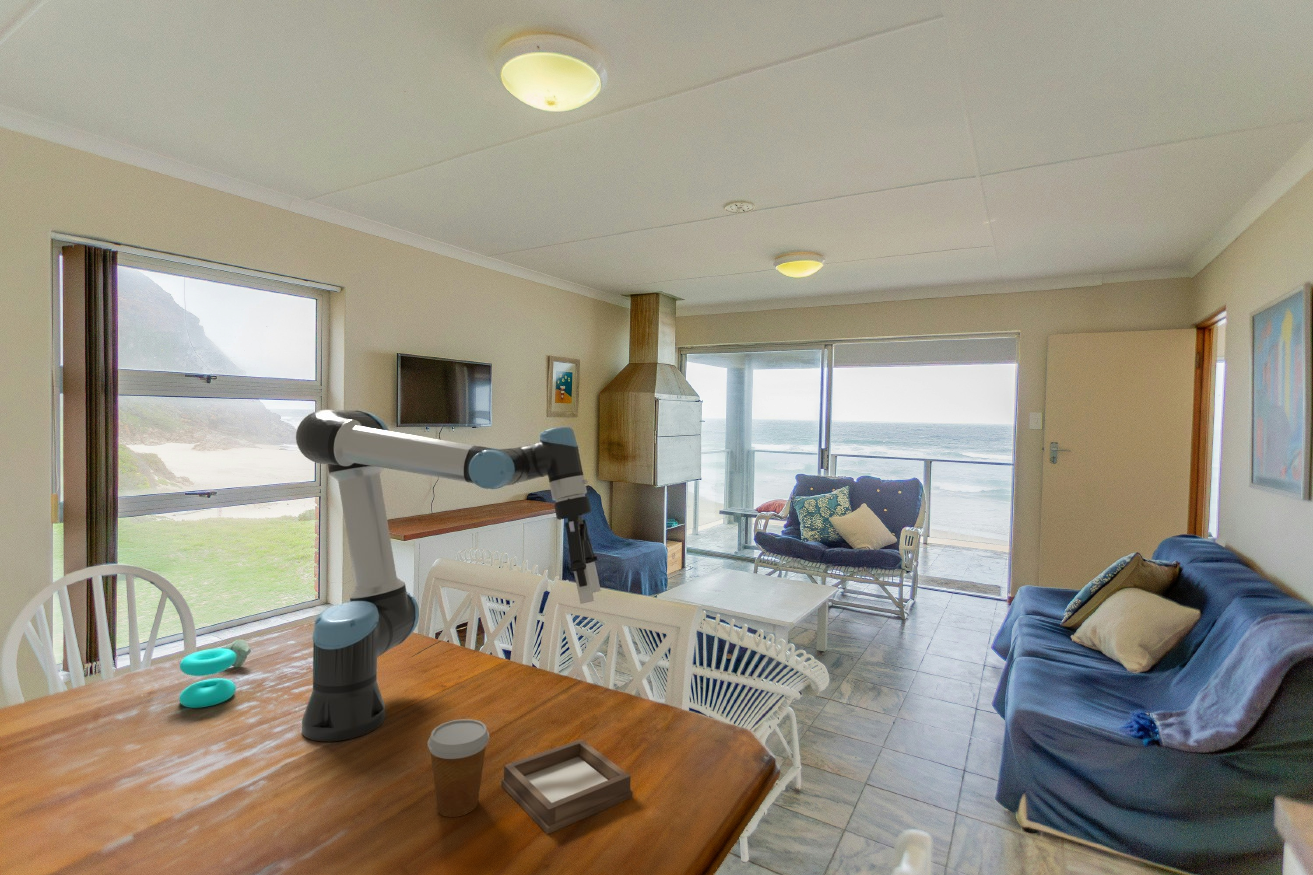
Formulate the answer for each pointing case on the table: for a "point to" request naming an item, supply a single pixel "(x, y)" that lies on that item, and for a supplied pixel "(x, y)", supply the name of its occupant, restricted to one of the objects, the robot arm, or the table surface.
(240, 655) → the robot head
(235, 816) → the table surface
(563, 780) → the holder
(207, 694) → the donuts
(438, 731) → the disposable coffee cup
